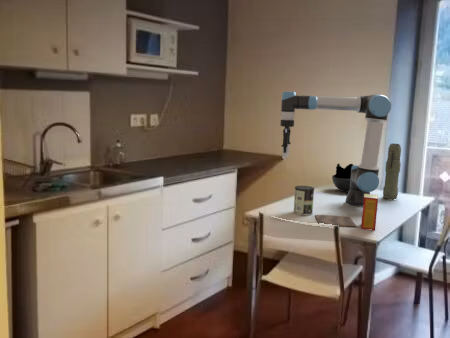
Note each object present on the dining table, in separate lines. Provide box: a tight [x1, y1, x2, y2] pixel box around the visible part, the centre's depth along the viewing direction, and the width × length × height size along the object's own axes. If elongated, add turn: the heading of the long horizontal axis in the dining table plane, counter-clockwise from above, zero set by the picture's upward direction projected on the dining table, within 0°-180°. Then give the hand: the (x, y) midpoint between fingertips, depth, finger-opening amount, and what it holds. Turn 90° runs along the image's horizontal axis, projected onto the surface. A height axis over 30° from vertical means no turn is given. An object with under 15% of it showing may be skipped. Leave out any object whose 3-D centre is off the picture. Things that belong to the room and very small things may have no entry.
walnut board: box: [314, 214, 358, 228], centre depth 244 cm, size 18×18×1 cm
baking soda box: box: [360, 193, 379, 231], centre depth 235 cm, size 10×6×16 cm
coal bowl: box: [331, 163, 354, 193], centre depth 322 cm, size 20×20×19 cm
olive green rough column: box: [382, 143, 402, 200], centre depth 305 cm, size 9×12×35 cm
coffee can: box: [293, 185, 315, 216], centre depth 258 cm, size 10×10×14 cm
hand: (285, 157), depth 273 cm, fingers open, 13 cm apart
